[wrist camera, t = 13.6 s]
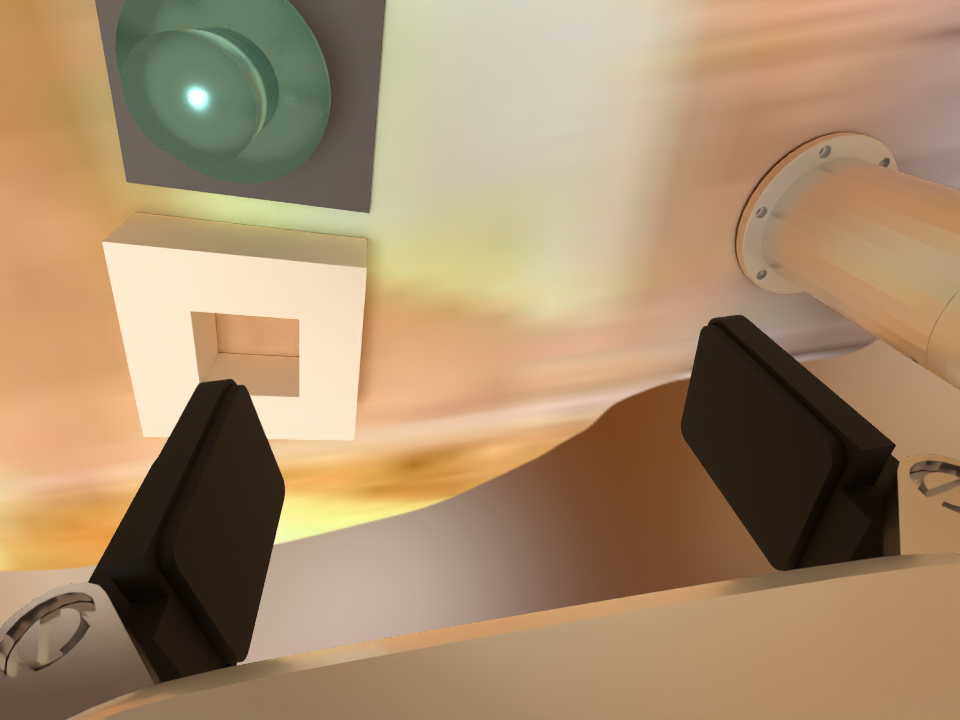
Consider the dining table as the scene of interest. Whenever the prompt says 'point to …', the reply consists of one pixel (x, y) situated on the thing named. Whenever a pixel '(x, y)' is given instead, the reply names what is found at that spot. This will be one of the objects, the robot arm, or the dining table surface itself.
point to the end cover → (225, 84)
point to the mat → (345, 142)
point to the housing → (241, 291)
